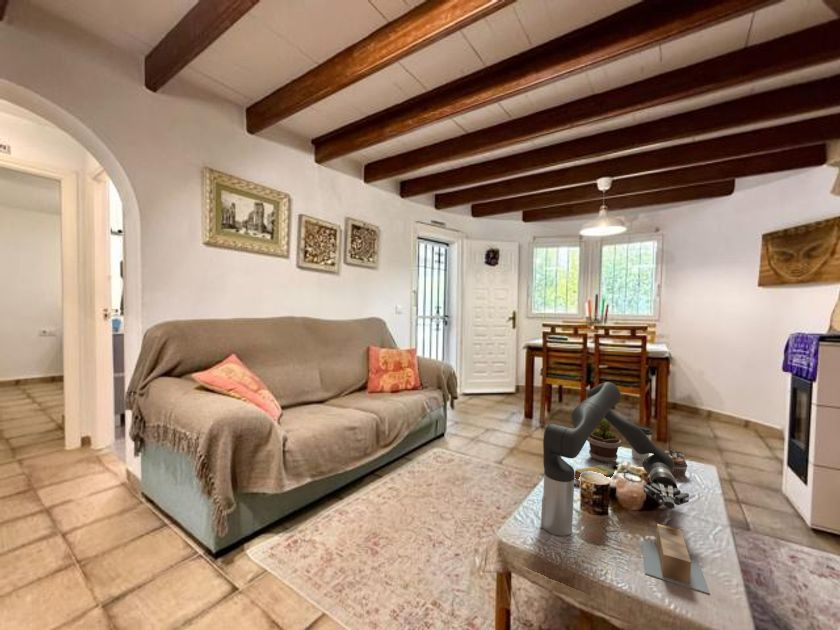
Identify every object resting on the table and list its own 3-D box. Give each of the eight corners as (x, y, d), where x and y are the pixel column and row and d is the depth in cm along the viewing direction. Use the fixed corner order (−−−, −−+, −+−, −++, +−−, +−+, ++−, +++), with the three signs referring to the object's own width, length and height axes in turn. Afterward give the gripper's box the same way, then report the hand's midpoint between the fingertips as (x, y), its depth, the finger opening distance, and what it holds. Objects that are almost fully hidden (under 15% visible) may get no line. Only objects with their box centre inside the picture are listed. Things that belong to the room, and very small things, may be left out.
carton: (574, 479, 155) (574, 469, 155) (601, 473, 161) (601, 463, 161) (590, 488, 147) (591, 478, 147) (618, 481, 154) (618, 471, 153)
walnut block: (656, 542, 113) (662, 576, 99) (657, 523, 113) (663, 554, 99) (679, 549, 110) (689, 584, 96) (680, 529, 110) (691, 562, 96)
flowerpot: (619, 469, 165) (621, 425, 164) (582, 460, 173) (584, 418, 173) (622, 458, 177) (624, 417, 176) (587, 450, 185) (589, 411, 185)
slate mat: (645, 574, 100) (645, 573, 100) (641, 541, 114) (641, 540, 114) (709, 594, 93) (709, 593, 93) (696, 556, 107) (697, 555, 107)
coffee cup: (630, 451, 186) (631, 422, 185) (651, 456, 180) (653, 426, 180) (628, 457, 178) (629, 427, 178) (650, 462, 173) (651, 431, 173)
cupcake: (655, 471, 164) (657, 448, 164) (668, 467, 169) (669, 445, 168) (679, 480, 156) (680, 457, 155) (691, 476, 160) (692, 453, 160)
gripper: (641, 466, 131) (644, 488, 116) (686, 476, 125) (696, 499, 109) (640, 487, 131) (643, 511, 116) (685, 497, 125) (695, 524, 110)
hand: (669, 505), depth 113 cm, fingers closed
